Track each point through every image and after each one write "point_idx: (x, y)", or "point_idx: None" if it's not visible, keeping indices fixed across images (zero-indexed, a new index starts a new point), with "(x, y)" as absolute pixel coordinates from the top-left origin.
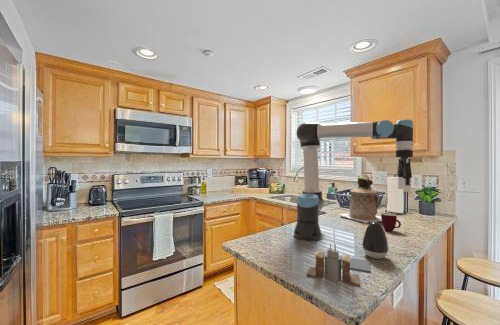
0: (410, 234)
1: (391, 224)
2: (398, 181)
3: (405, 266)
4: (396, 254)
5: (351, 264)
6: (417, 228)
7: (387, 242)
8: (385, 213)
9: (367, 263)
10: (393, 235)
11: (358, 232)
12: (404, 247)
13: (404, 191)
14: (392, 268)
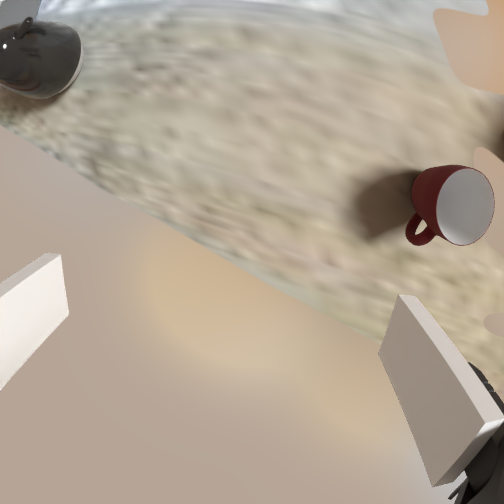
0: (383, 265)
1: (416, 199)
2: (445, 364)
3: (25, 139)
4: (96, 129)
5: (6, 24)
6: (461, 319)
7: (20, 94)
8: (492, 201)
9: None
10: (352, 184)
11: (354, 36)
12: (181, 175)
13: (45, 259)
14: (9, 107)
